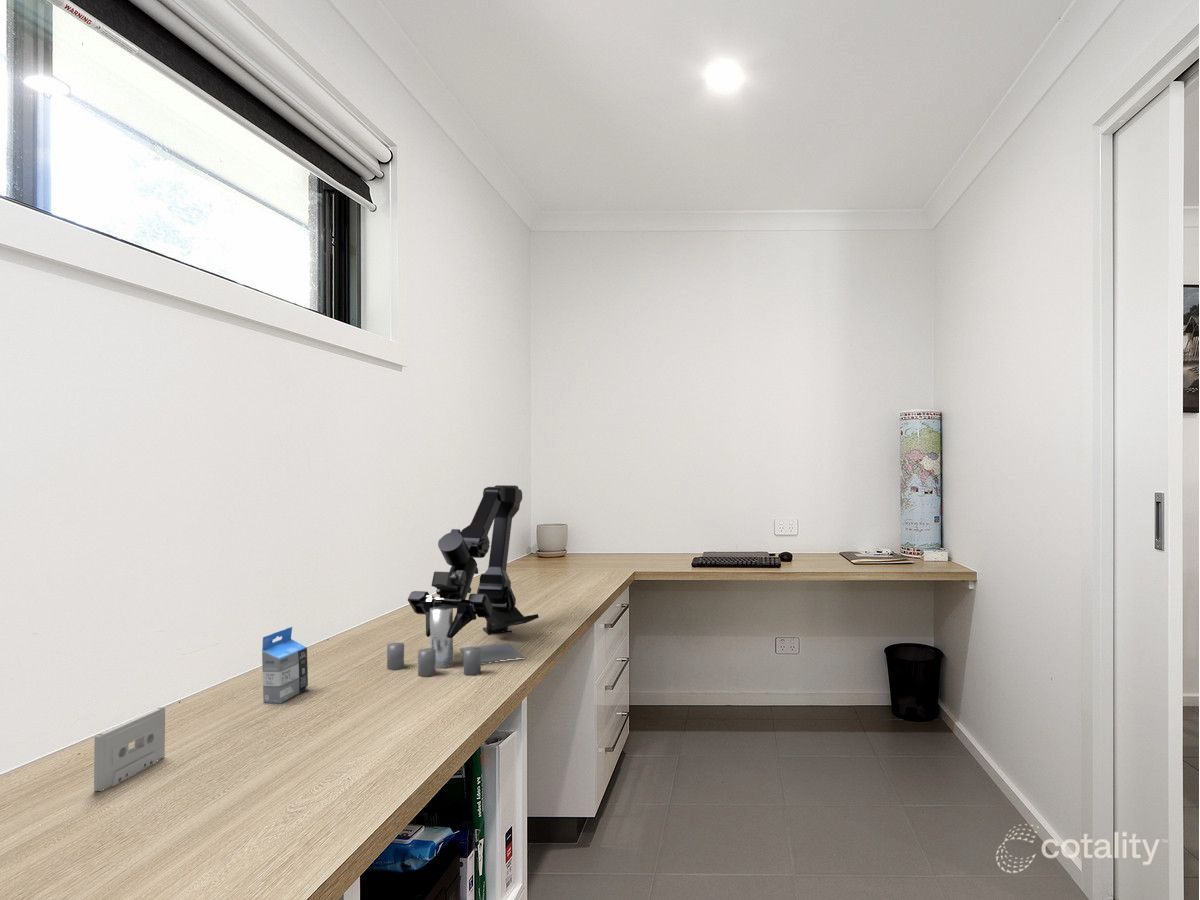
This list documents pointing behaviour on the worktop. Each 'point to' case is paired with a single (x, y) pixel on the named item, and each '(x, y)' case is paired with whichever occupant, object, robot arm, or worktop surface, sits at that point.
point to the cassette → (119, 760)
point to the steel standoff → (441, 635)
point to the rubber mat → (497, 652)
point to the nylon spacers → (431, 660)
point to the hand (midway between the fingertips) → (438, 636)
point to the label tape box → (283, 667)
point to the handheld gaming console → (508, 618)
